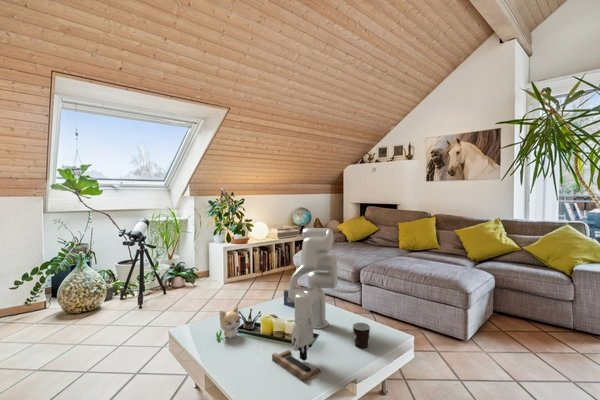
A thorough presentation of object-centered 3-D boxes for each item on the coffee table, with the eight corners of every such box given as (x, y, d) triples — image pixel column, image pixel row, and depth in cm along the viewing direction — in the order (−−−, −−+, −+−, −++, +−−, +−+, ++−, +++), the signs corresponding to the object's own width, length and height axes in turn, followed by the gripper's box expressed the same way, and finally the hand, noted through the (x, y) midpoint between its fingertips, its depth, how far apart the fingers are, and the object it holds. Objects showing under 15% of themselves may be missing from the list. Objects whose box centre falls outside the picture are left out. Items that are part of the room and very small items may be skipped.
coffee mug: (370, 350, 152) (370, 330, 152) (352, 349, 154) (352, 329, 154) (369, 339, 164) (369, 320, 163) (353, 338, 165) (353, 319, 165)
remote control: (282, 363, 144) (304, 376, 133) (282, 359, 144) (304, 372, 133) (290, 359, 147) (312, 371, 136) (290, 355, 147) (312, 367, 136)
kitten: (219, 344, 160) (219, 315, 159) (212, 336, 168) (212, 309, 168) (246, 336, 169) (245, 309, 168) (238, 329, 177) (237, 303, 176)
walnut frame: (272, 360, 144) (272, 354, 144) (288, 352, 151) (288, 346, 151) (303, 382, 128) (303, 374, 128) (320, 372, 135) (320, 365, 134)
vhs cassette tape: (306, 310, 204) (305, 295, 203) (302, 311, 202) (302, 296, 201) (286, 303, 216) (286, 289, 216) (283, 304, 214) (283, 290, 214)
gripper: (309, 313, 150) (309, 350, 151) (285, 322, 140) (285, 361, 141) (320, 318, 144) (320, 356, 145) (296, 328, 134) (296, 369, 135)
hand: (303, 358), depth 143 cm, fingers closed
